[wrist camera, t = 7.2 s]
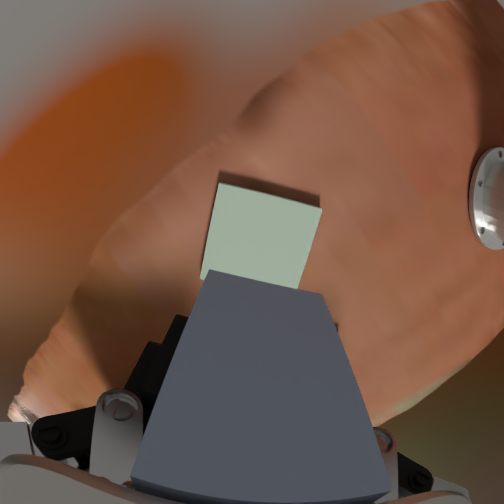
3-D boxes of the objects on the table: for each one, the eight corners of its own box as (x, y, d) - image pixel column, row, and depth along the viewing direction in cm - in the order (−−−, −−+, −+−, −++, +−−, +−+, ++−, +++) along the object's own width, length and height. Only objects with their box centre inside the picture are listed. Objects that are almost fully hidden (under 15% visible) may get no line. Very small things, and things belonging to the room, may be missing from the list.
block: (321, 294, 12) (392, 490, 3) (287, 374, 13) (302, 536, 5) (209, 269, 11) (129, 475, 3) (193, 355, 13) (148, 519, 5)
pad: (320, 207, 24) (322, 209, 23) (291, 295, 27) (293, 300, 26) (220, 182, 23) (219, 183, 22) (201, 274, 26) (199, 279, 25)
